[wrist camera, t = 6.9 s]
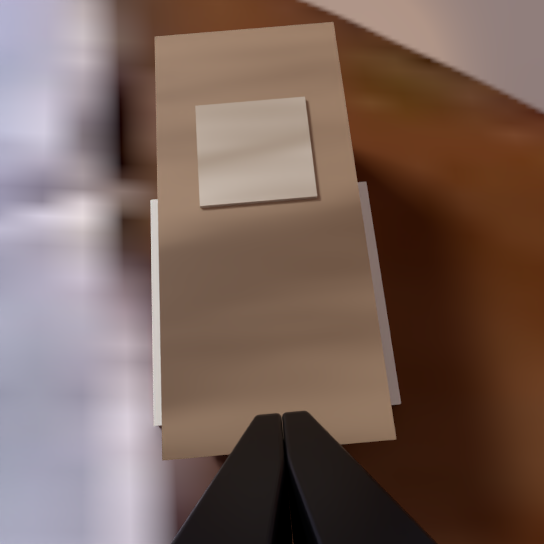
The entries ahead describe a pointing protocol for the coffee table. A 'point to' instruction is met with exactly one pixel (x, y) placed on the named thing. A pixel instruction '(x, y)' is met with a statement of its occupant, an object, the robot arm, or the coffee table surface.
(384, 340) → the felt mat
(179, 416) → the cardboard box
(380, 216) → the coffee table surface
